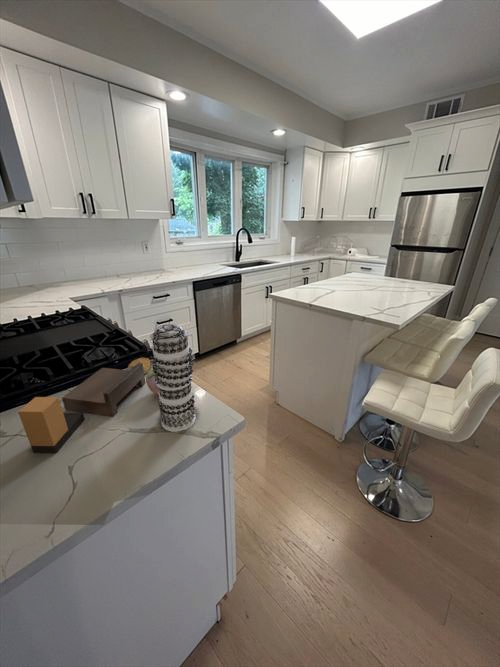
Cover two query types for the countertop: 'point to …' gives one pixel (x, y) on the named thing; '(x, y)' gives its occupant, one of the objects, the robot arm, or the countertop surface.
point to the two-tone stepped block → (48, 424)
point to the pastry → (144, 361)
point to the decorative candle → (173, 377)
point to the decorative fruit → (152, 382)
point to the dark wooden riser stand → (103, 390)
